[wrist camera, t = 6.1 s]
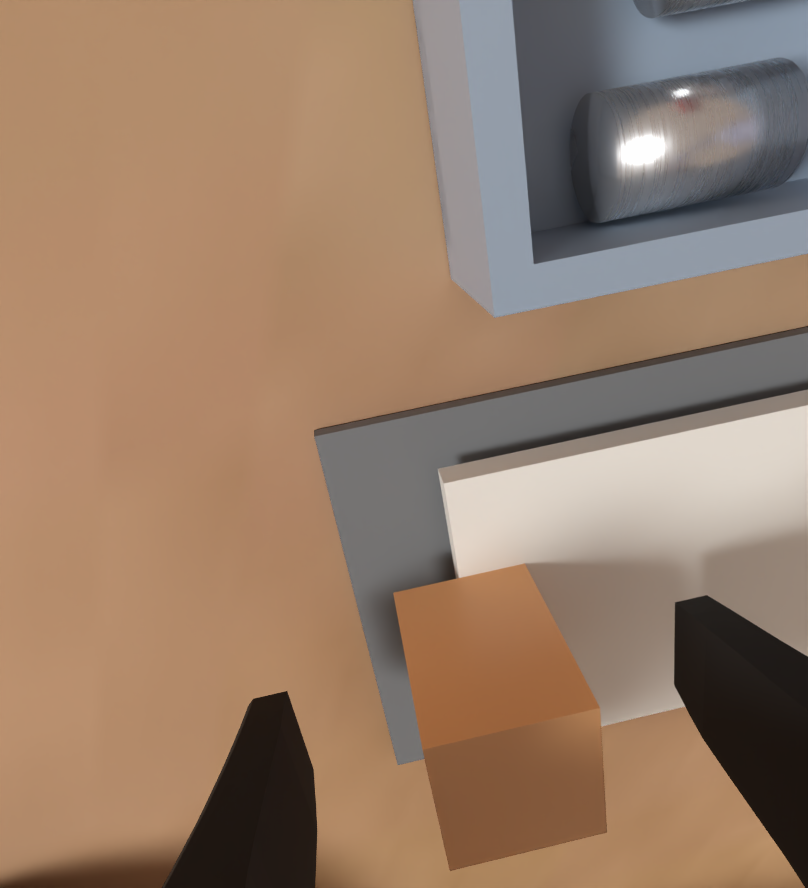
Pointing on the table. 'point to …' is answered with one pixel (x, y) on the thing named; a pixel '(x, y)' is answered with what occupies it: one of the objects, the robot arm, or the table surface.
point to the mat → (493, 434)
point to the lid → (591, 606)
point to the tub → (548, 144)
